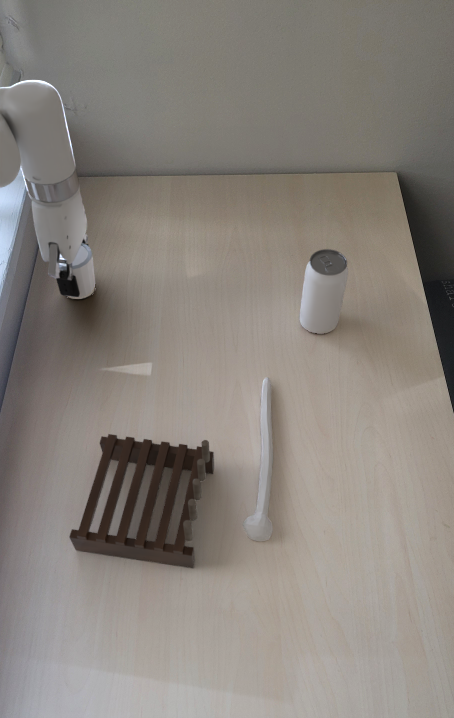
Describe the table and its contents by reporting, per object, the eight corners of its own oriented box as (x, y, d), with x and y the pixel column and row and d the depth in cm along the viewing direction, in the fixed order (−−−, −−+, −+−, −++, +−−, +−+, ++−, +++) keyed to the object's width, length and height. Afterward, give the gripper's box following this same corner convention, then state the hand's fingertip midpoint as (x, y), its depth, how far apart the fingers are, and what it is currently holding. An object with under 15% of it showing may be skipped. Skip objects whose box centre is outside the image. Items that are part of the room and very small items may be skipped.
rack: (75, 550, 85) (60, 519, 78) (106, 452, 93) (95, 415, 85) (193, 568, 84) (189, 539, 76) (214, 467, 92) (213, 431, 84)
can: (310, 340, 104) (319, 281, 93) (292, 313, 106) (299, 254, 96) (345, 328, 105) (358, 269, 94) (326, 302, 108) (336, 242, 97)
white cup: (97, 272, 111) (90, 238, 105) (100, 300, 108) (93, 266, 102) (58, 277, 111) (48, 242, 105) (60, 305, 107) (50, 271, 101)
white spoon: (247, 380, 99) (247, 367, 97) (273, 381, 99) (274, 368, 97) (242, 542, 86) (242, 532, 83) (272, 543, 86) (273, 533, 83)
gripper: (45, 142, 97) (70, 242, 112) (7, 216, 88) (39, 313, 104) (93, 147, 96) (111, 247, 112) (59, 222, 88) (84, 318, 103)
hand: (76, 278), depth 107 cm, fingers closed on white cup, 6 cm apart
